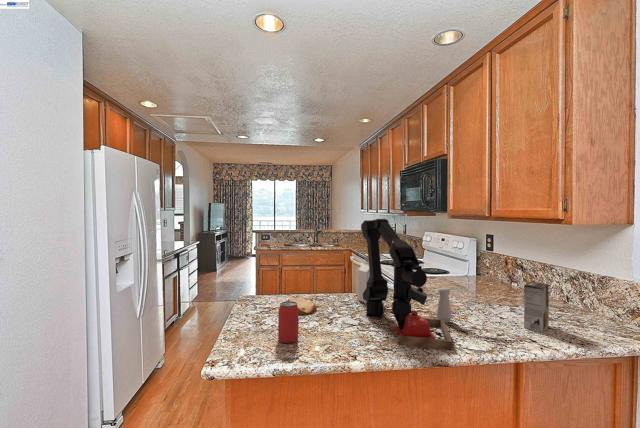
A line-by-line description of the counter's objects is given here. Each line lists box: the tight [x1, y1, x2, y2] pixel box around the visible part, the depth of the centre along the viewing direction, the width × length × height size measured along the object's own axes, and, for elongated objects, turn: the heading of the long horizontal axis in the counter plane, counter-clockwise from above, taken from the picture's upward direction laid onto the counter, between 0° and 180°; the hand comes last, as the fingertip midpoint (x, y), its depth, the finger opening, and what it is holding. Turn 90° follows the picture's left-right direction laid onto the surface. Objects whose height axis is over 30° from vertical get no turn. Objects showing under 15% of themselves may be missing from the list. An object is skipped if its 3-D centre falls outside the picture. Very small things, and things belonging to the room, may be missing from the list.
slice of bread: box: [287, 297, 317, 316], centre depth 140 cm, size 18×18×4 cm
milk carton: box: [357, 260, 370, 304], centre depth 152 cm, size 7×7×19 cm
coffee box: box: [523, 281, 550, 333], centre depth 118 cm, size 9×6×16 cm
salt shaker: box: [435, 287, 453, 324], centre depth 124 cm, size 6×6×13 cm
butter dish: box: [393, 310, 437, 339], centre depth 109 cm, size 12×12×8 cm
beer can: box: [277, 300, 300, 344], centre depth 104 cm, size 7×7×12 cm
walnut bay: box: [397, 316, 453, 351], centre depth 110 cm, size 16×22×2 cm
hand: (401, 325), depth 112 cm, fingers open, 9 cm apart
